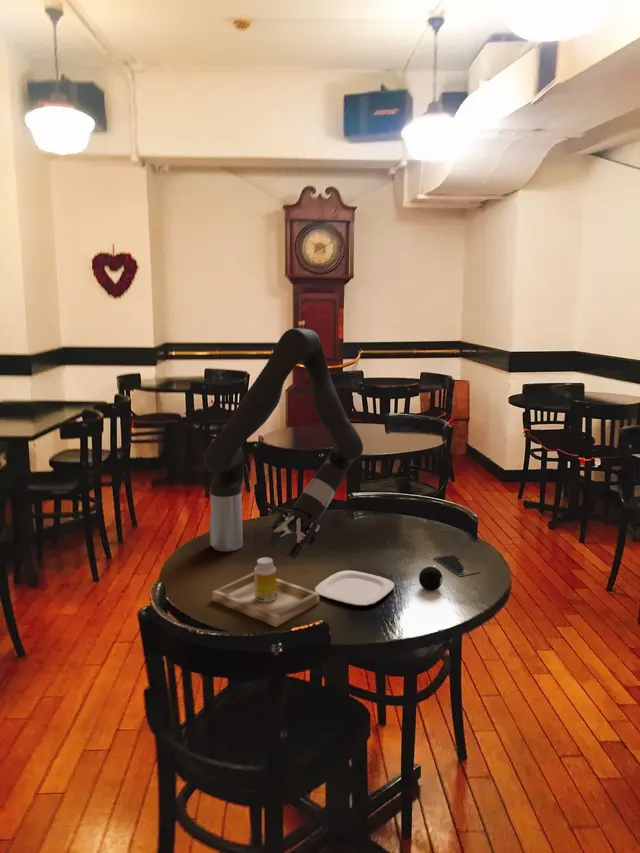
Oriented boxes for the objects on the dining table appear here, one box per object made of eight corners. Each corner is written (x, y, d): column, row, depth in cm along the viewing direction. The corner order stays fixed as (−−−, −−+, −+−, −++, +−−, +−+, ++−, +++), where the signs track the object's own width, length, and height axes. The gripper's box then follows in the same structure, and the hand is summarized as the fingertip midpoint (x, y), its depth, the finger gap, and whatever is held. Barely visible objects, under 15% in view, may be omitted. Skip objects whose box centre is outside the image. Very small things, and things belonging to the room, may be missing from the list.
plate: (368, 614, 164) (368, 608, 164) (306, 597, 174) (306, 590, 174) (401, 587, 179) (401, 581, 179) (343, 572, 189) (343, 566, 189)
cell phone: (459, 578, 184) (459, 575, 184) (431, 559, 197) (431, 557, 197) (481, 573, 187) (481, 571, 187) (453, 556, 200) (453, 553, 200)
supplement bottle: (280, 600, 169) (279, 562, 167) (259, 605, 167) (258, 566, 165) (272, 591, 174) (271, 554, 172) (251, 596, 172) (250, 558, 170)
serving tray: (212, 600, 171) (212, 591, 171) (256, 579, 184) (256, 571, 183) (276, 627, 158) (276, 617, 157) (319, 602, 170) (319, 593, 169)
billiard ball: (437, 596, 173) (438, 574, 172) (415, 591, 176) (415, 569, 175) (445, 587, 178) (445, 565, 177) (423, 582, 181) (424, 561, 180)
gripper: (289, 486, 180) (255, 537, 175) (324, 498, 169) (289, 553, 164) (305, 501, 184) (272, 551, 179) (340, 514, 174) (306, 567, 169)
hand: (280, 552), depth 172 cm, fingers open, 8 cm apart
